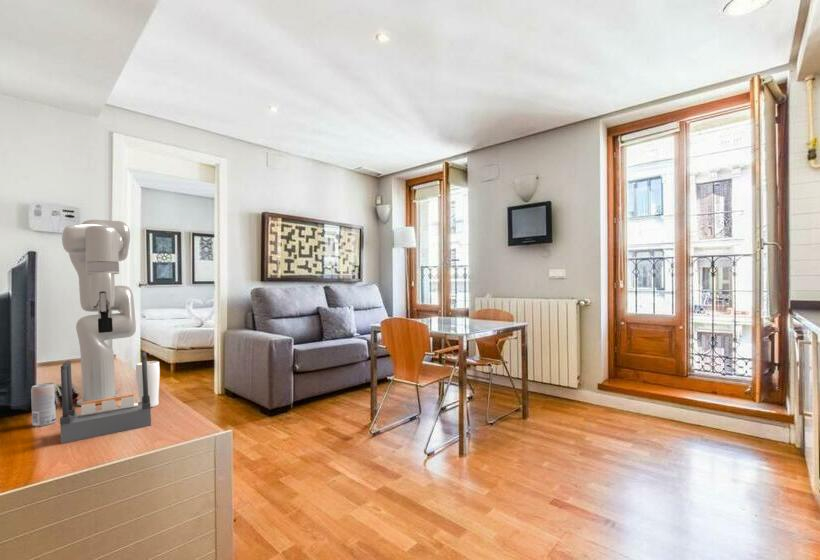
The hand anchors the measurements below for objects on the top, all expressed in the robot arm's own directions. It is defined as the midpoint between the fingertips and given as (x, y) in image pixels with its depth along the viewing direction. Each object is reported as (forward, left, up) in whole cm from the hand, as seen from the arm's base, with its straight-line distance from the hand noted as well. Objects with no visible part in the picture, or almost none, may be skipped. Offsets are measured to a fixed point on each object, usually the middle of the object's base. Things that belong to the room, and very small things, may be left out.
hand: (105, 332), depth 114 cm
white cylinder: (-18, +10, -29) cm, 35 cm away
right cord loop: (0, +9, -23) cm, 25 cm away
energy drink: (-20, -17, -29) cm, 39 cm away
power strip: (0, 0, -28) cm, 28 cm away
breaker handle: (0, 0, -23) cm, 23 cm away
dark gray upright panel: (0, -9, -23) cm, 25 cm away
